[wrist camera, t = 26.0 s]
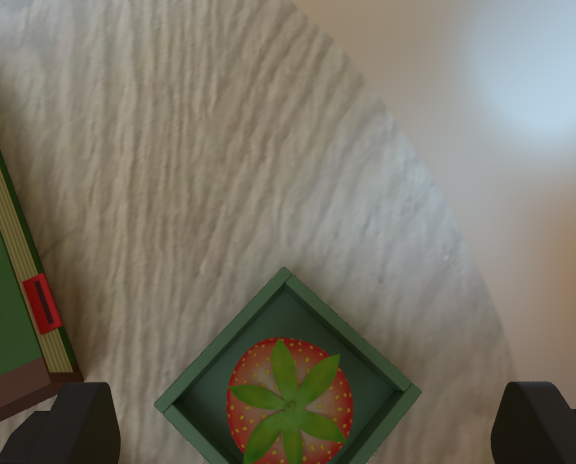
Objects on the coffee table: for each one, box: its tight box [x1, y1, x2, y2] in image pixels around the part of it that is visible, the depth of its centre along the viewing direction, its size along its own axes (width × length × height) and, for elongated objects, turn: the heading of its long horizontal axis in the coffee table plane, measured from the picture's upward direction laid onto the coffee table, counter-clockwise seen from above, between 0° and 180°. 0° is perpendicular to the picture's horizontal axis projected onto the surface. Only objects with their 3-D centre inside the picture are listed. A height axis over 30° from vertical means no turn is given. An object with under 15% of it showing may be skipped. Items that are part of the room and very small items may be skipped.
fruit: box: [226, 337, 354, 464], centre depth 20 cm, size 5×5×8 cm
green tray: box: [154, 267, 422, 464], centre depth 23 cm, size 9×9×3 cm
